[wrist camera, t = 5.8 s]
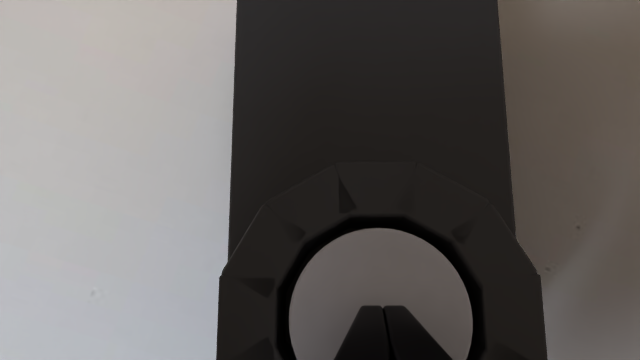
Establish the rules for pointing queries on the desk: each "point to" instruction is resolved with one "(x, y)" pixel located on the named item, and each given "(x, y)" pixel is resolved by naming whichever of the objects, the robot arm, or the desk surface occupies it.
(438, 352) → the robot arm
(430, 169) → the push button base
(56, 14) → the desk surface
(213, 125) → the desk surface
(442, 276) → the gray round disc
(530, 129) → the desk surface
